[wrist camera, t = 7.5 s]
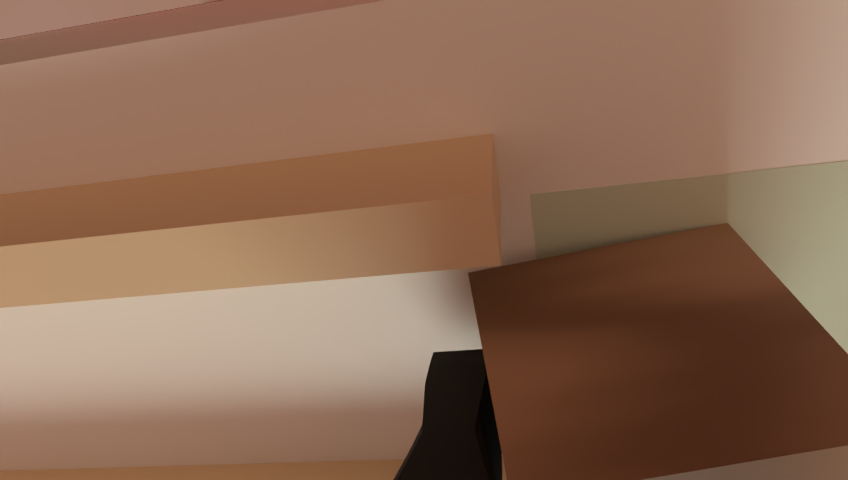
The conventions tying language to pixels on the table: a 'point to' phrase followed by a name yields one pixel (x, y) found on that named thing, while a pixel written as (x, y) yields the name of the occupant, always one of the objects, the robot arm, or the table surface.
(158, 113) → the channel deck
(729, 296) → the walnut block
